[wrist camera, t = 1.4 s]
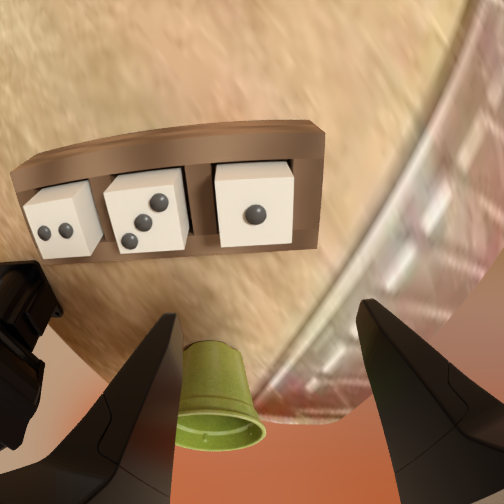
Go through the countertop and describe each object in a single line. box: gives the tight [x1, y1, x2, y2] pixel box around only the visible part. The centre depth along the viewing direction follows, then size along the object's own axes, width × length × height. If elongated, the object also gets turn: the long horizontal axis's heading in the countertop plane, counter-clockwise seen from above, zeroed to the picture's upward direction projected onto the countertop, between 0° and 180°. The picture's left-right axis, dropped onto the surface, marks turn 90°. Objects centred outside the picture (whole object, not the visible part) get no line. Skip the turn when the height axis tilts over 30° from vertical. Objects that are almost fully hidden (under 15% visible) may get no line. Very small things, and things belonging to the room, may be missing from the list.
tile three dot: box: [103, 168, 190, 254], centre depth 15 cm, size 4×4×3 cm
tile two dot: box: [23, 180, 104, 259], centre depth 15 cm, size 4×4×3 cm
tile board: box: [10, 120, 325, 265], centre depth 17 cm, size 18×7×4 cm, turn 92°
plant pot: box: [175, 341, 266, 451], centre depth 26 cm, size 9×9×9 cm
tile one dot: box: [215, 161, 294, 247], centre depth 16 cm, size 4×4×3 cm
